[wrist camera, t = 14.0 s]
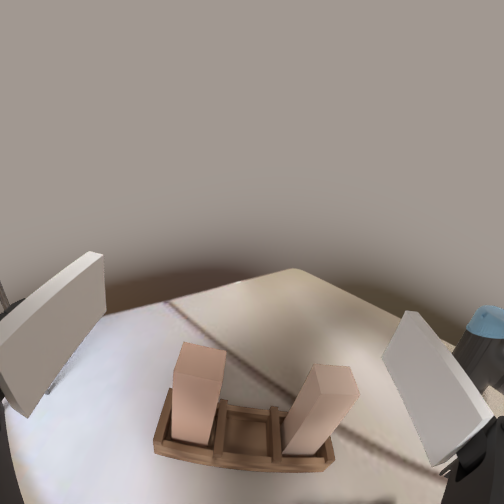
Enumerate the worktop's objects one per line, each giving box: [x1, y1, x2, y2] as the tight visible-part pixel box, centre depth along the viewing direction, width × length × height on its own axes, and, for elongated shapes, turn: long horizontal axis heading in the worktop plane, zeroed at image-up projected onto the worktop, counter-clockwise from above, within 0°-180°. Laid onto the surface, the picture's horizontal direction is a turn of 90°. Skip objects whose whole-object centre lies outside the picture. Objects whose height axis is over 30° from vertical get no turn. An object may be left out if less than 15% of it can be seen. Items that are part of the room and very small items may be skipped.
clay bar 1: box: [172, 342, 227, 448], centre depth 27 cm, size 4×4×14 cm
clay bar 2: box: [280, 364, 360, 457], centre depth 28 cm, size 4×4×14 cm
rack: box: [153, 388, 335, 473], centre depth 29 cm, size 22×9×4 cm, turn 89°
